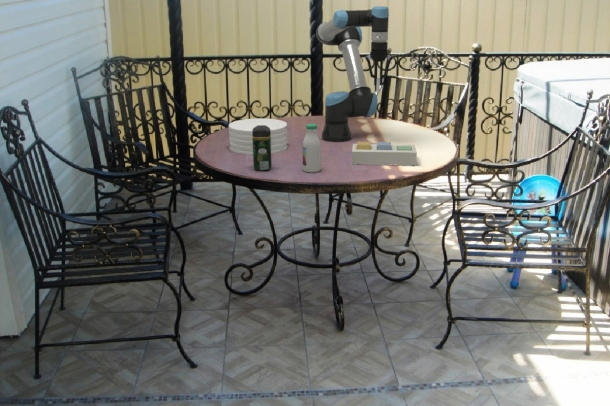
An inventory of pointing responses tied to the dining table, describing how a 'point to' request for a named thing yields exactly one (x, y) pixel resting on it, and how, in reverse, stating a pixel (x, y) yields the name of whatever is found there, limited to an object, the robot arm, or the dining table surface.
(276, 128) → the plate stack
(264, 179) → the dining table surface
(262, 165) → the coffee jar
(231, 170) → the dining table surface
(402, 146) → the key sage
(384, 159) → the key panel
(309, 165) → the milk bottle
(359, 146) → the key ochre
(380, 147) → the key blue
